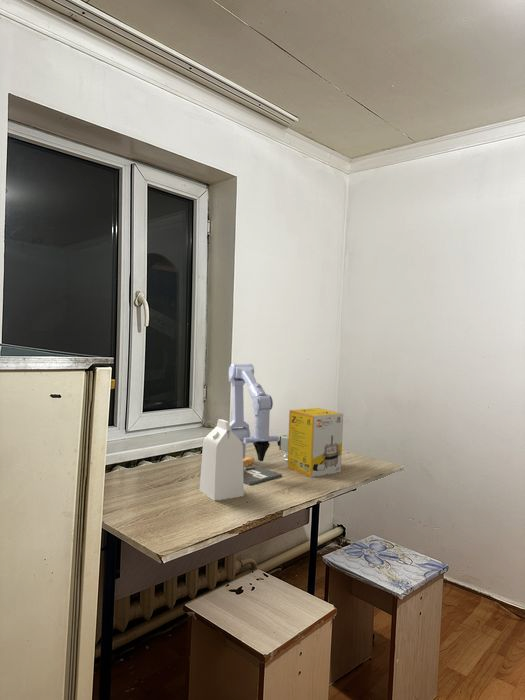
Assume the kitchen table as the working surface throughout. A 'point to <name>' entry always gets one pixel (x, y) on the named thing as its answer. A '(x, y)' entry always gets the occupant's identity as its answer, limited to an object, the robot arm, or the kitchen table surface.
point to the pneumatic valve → (283, 445)
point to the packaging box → (315, 441)
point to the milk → (222, 464)
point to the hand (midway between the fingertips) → (260, 460)
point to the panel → (251, 479)
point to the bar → (248, 461)
